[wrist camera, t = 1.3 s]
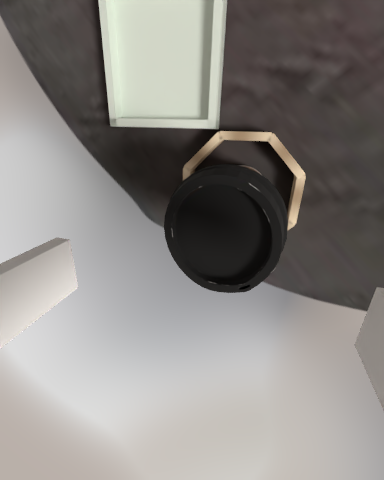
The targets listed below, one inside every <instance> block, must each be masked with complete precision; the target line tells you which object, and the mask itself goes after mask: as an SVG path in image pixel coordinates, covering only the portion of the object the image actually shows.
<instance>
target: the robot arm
mask: <svg viewBox="0 0 384 480" xmlns="http://www.w3.org/2000/svg"><path fill="white" fill-rule="evenodd" d="M77 288H78V284H77V278H76V272H75V268H74V262H73V256H72V250H71V244H70V240H69V239H62V238H55V239H53V240H50V241H48V242H46V243H44V244H42V245H40V246H38V247H35V248H33V249H31V250H29V251H27V252H25V253H23V254H21V255H18V256H16V257H14V258H12V259H10V260H8V261H6V262H3V263H1V264H0V349H1V348H2V347H3V346H4V345H6V344H7V343H8V342H10V340H12V339H13V338H15V337H16V336H17V335H18V334H20V333H21V332H22V331H23V330H25V329H26V328H27V327H29V326H30V325H31V324H32V323H33V322H35V321H36V320H37V319H39V318H40V317H41V316H43V315H44V314H45V313H46V312H48V311H49V310H50V309H51V308H53V307H54V306H55V305H56V304H57V303H59V302H60V301H62V300H63V299H64V298H65V297H67V296H68V295H69V294H70V293H72V292H73V291H74V290H76V289H77ZM355 347H356V349H357V351H358V353H359V356H360V358H361V360H362V362H363V365H364V367H365V369H366V371H367V374H368V376H369V378H370V380H371V383H372V385H373V387H374V390H375V392H376V394H377V396H378V399H379V401H380V403H381V406H382V408H383V410H384V288H379V287H377V288H376V291H375V293H374V296H373V298H372V301H371V304H370V306H369V309H368V311H367V314H366V316H365V319H364V322H363V324H362V327H361V329H360V332H359V335H358V337H357V340H356V342H355Z"/></svg>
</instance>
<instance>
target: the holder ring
mask: <svg viewBox="0 0 384 480" xmlns="http://www.w3.org/2000/svg"><path fill="white" fill-rule="evenodd" d="M271 134H272V132H240V131H220V132H217V133H216V134H215V135H214V136H213V137H212V138H211V139H210V140H209V141H208V142H207V143H206V144H205V145H204V146H203V147H202V148H201V149H200V150H199V151H198V152H197V153H196V154H195V155H194V156H193V157H192V158H191V159H190V160H189V161H188V162H187V163H186V164H185V166H184V168H183V180H184V179H186V178H187V177H188V176H190V175H191V174H193V173H194V172H195V168H196V167H197V166H198V165H199V164H200V163H201V162H202V161H203V160H204V159H205V158H206V157H207V156H208V155H209V154H210V153H211V152H212V151H213V150H214V149H215V148H216V147H217V146H219V145H220V144H221V143H222V142H223V141H224V140H245V141H268V142H269V143H270V144H271V146H272V147H273V148H274V149H275V151H276V152H277V153H278V154H279V156H280V157H281V158H282V159H283V161H284V162H285V163H286V165H287V166H288V167H289V168H290V170H291V171H292V172H293V173H294V180H293V185H292V190H291V195H290V201H289V206H288V211H287V216H288V229H287V230H289V229H290V228H292V227H293V226H295V225H294V224H296V221H297V216H298V212H299V207H300V202H301V197H302V193H303V188H304V183H305V178H306V175H305V172H304V171H303V170H302V169H301V167H300V166H299V165H298V164H297V162H296V161H295V160H294V158H293V157H292V156H291V155H290V153H289V152H288V151H287V150H286V148H285V147H284V146H283V144H282V143H281V142H280V141H279V139H278V138H277V137H276V136H275V134H274V133H273V134H272V135H271Z"/></svg>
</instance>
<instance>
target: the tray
mask: <svg viewBox="0 0 384 480" xmlns="http://www.w3.org/2000/svg"><path fill="white" fill-rule="evenodd" d="M98 2H99V12H100V23H101V33H102V44H103V54H104V65H105V75H106V86H107V96H108V107H109V117H110V126H114V127H144V128H185V129H219V118H220V103H221V88H222V72H223V57H224V42H225V27H226V12H227V0H98Z"/></svg>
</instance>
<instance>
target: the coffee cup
mask: <svg viewBox="0 0 384 480" xmlns="http://www.w3.org/2000/svg"><path fill="white" fill-rule="evenodd" d="M287 229H288V216H287V210H286V207H285V204H284V201H283V198H282V197H281V195H280V194H279V192H278V190H277V189H276V188H275V186H274V185H273V184H272V183H271V182H270V181H269V180H268V179H267V178H265V177H264V176H262V175H261V174H260V173H259V171H257V170H256V169H254V168H252V167H250V166H245V165H234V164H219V165H214V166H210V167H206V168H203V169H201V170H199V171H197V172H194V173H193V174H191V175H190V176H188V177H187V178H186V179H184V180H183V181H182V183H181V184H180V185H179V186H178V187H177V188H176V190H175V192H174V194H173V195H172V197H171V199H170V203H169V205H168V207H167V211H166V214H165V222H164V230H165V238H166V241H167V245H168V248H169V250H170V252H171V255H172V257H173V258H174V260H175V262H176V263H177V265H178V266H179V268H180V269H181V270H182V271H183V272H184V273H185V274H186V275H187V276H188V277H189V278H190V279H191V280H193V281H194V282H195V283H197V284H198V285H200V286H202V287H204V288H207V289H209V290H212V291H217V292H227V293H233V292H234V293H235V292H246V291H249V290H251V289H252V288H254V287H255V286H257V285H258V284H260V283H261V282H262V281H263V280H264V279H266V278H267V277H268V276H269V275H270V273H271V272H272V271H273V270H274V268H275V267H276V265H277V263H278V261H279V258H280V254H281V252H282V251H283V248H284V245H285V242H286V239H287Z"/></svg>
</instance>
